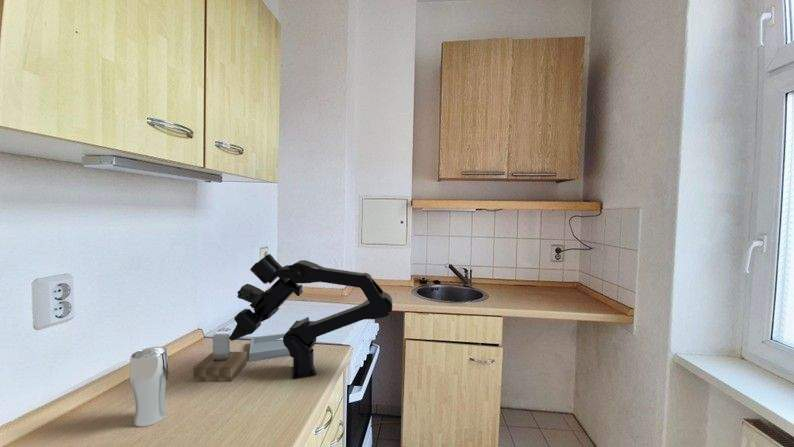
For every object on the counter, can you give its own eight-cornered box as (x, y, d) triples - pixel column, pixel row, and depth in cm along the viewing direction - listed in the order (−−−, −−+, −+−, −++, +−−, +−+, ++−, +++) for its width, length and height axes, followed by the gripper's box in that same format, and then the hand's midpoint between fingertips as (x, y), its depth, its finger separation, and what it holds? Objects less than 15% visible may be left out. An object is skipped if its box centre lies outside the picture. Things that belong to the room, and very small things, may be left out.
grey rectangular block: (230, 371, 97) (229, 333, 96) (227, 374, 95) (226, 336, 95) (216, 371, 97) (215, 333, 96) (213, 374, 95) (212, 336, 95)
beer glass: (162, 425, 72) (161, 357, 72) (124, 431, 70) (122, 361, 70) (174, 407, 79) (172, 344, 78) (139, 411, 77) (137, 348, 76)
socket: (246, 364, 101) (246, 351, 101) (230, 381, 91) (230, 367, 91) (213, 364, 101) (213, 351, 101) (193, 381, 91) (193, 367, 91)
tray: (296, 354, 108) (296, 347, 108) (249, 361, 103) (249, 353, 103) (293, 339, 121) (293, 332, 121) (251, 344, 116) (251, 337, 116)
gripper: (268, 269, 104) (233, 304, 104) (241, 282, 86) (199, 324, 86) (294, 294, 105) (258, 329, 105) (272, 312, 86) (230, 354, 86)
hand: (238, 333), depth 95 cm, fingers open, 9 cm apart
